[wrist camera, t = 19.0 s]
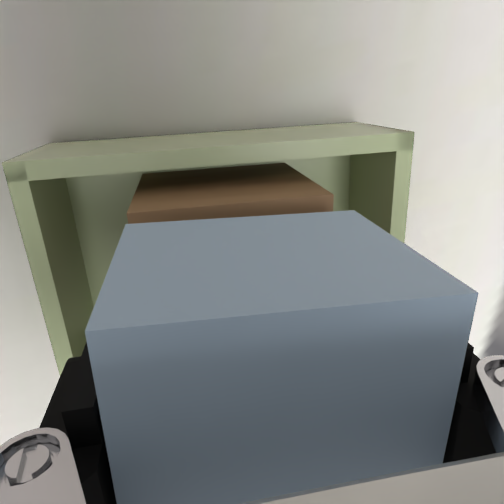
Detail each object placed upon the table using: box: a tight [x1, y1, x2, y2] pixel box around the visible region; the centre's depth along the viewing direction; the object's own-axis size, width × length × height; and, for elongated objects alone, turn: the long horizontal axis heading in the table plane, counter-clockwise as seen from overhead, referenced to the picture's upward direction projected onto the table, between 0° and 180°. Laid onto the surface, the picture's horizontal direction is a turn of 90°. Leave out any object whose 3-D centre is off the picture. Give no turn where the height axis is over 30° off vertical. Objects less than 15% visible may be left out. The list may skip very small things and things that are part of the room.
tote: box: [2, 122, 414, 376], centre depth 17 cm, size 9×13×5 cm
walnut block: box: [127, 163, 334, 224], centre depth 16 cm, size 6×6×6 cm
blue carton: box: [85, 210, 478, 504], centre depth 10 cm, size 6×6×5 cm
